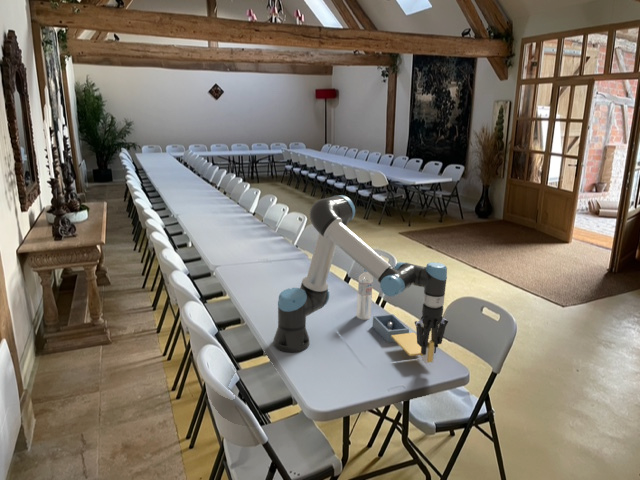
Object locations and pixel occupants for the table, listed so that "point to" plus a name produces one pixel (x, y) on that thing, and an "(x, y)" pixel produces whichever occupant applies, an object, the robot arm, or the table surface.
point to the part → (390, 325)
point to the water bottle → (364, 296)
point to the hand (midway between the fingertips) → (427, 361)
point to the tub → (381, 327)
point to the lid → (413, 345)
